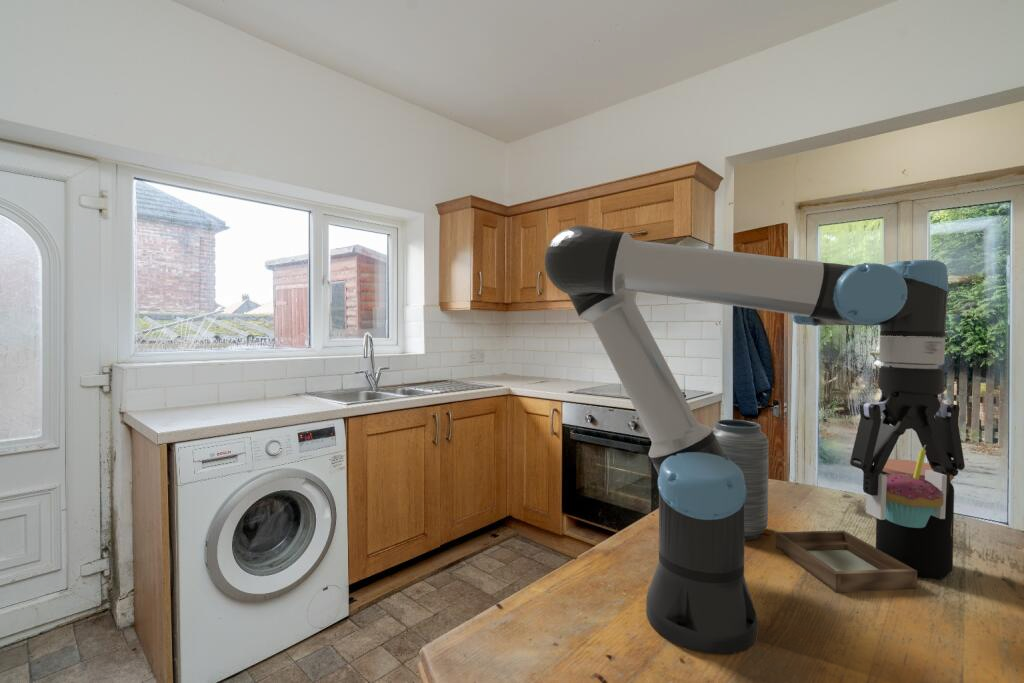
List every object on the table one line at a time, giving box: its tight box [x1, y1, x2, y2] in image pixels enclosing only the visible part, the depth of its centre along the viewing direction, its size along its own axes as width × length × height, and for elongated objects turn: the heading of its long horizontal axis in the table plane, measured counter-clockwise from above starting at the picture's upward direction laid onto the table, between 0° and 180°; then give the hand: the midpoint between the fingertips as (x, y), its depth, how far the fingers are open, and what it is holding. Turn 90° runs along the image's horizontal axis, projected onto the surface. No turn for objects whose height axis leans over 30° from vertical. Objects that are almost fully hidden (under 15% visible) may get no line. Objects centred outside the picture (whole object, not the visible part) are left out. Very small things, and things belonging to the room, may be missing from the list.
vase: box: [711, 419, 770, 541], centre depth 101 cm, size 12×12×23 cm
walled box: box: [775, 529, 918, 593], centre depth 86 cm, size 14×16×3 cm
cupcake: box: [884, 445, 944, 528], centre depth 72 cm, size 9×8×12 cm
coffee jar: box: [875, 458, 955, 580], centre depth 86 cm, size 11×11×18 cm
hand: (904, 515), depth 72 cm, fingers closed on cupcake, 9 cm apart
